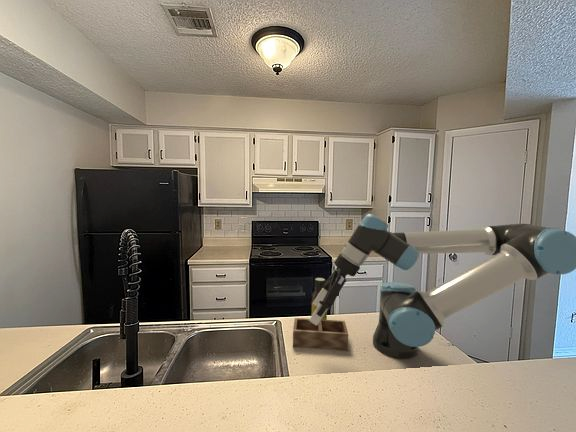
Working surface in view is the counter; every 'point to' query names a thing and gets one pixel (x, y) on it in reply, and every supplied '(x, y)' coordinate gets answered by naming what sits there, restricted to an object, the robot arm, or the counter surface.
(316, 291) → the sauce bottle
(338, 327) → the wooden divided box
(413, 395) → the counter surface
